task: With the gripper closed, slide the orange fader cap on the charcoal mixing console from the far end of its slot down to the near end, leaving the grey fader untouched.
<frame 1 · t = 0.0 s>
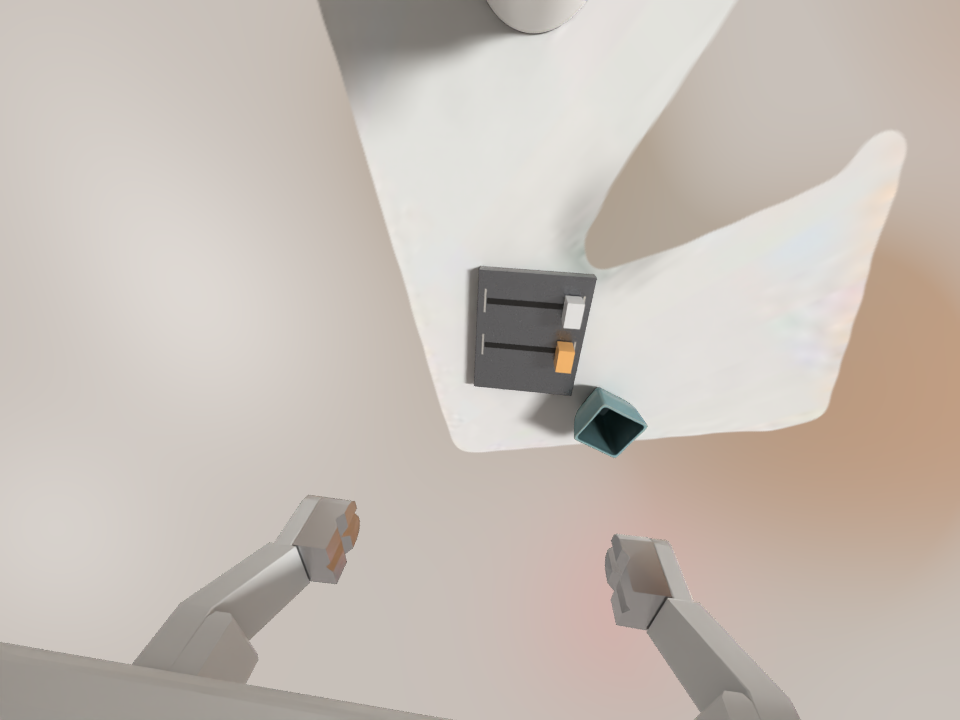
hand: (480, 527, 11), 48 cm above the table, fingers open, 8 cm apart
console: (528, 332, 60), on the table
fader A: (563, 357, 57), point 4 cm above the table, slide at 0.0 cm
flower pot: (599, 400, 65), on the table
fader B: (572, 312, 53), point 4 cm above the table, slide at 0.0 cm
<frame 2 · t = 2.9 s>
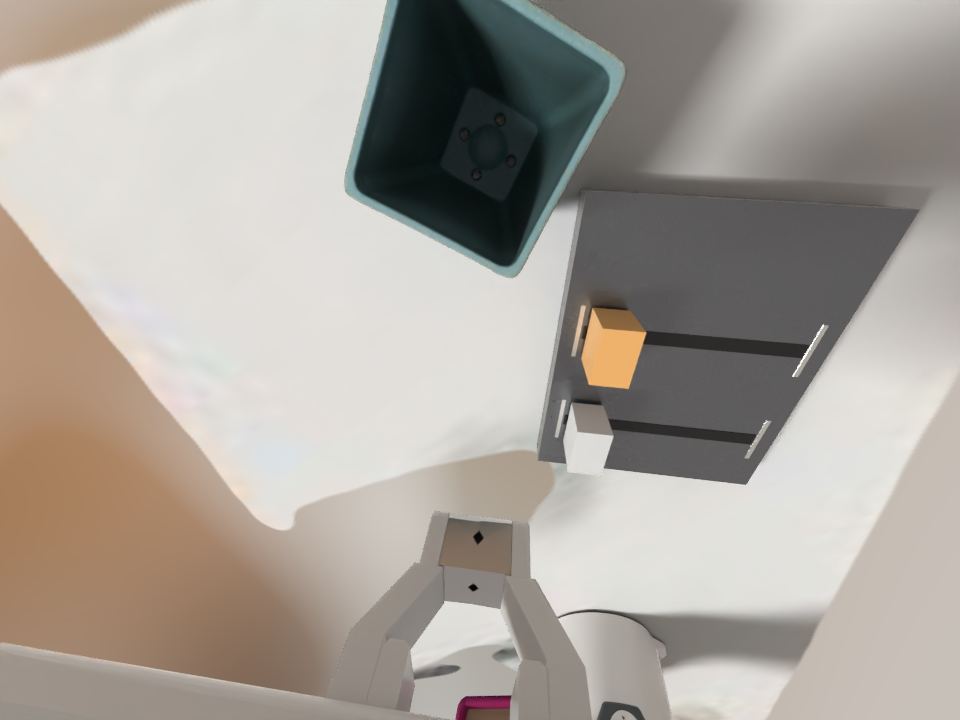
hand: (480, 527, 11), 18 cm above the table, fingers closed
console: (671, 353, 27), on the table
fader A: (610, 347, 22), point 4 cm above the table, slide at 0.0 cm
flower pot: (490, 148, 21), on the table
fader B: (585, 438, 26), point 4 cm above the table, slide at 0.0 cm
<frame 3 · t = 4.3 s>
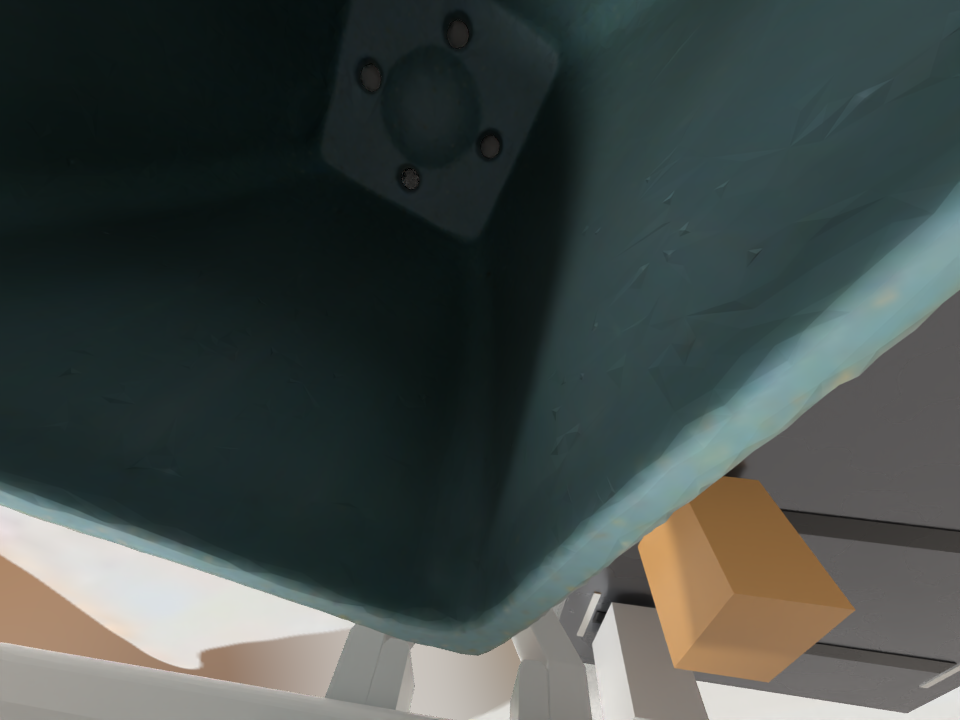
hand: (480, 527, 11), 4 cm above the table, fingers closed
console: (802, 516, 14), on the table
fader A: (718, 570, 10), point 4 cm above the table, slide at 0.0 cm
flower pot: (440, 114, 9), on the table
fader B: (640, 678, 14), point 4 cm above the table, slide at 0.0 cm
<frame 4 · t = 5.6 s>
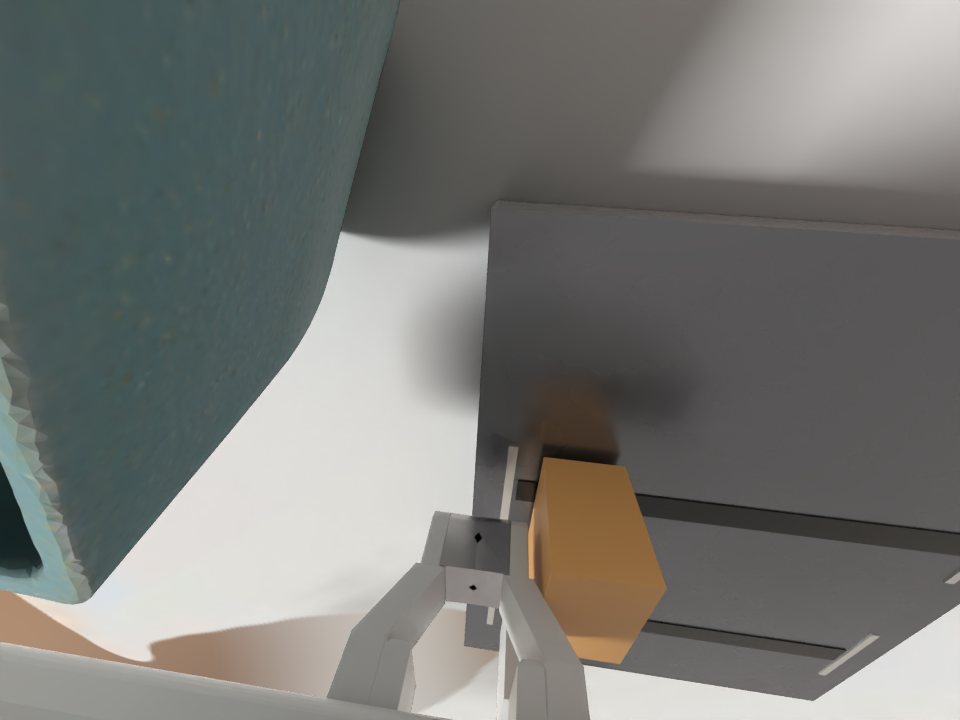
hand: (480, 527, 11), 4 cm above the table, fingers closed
console: (692, 504, 14), on the table
fader A: (579, 554, 10), point 4 cm above the table, slide at 0.4 cm, touching gripper
flower pot: (274, 100, 9), on the table
fader B: (531, 664, 14), point 4 cm above the table, slide at 0.0 cm
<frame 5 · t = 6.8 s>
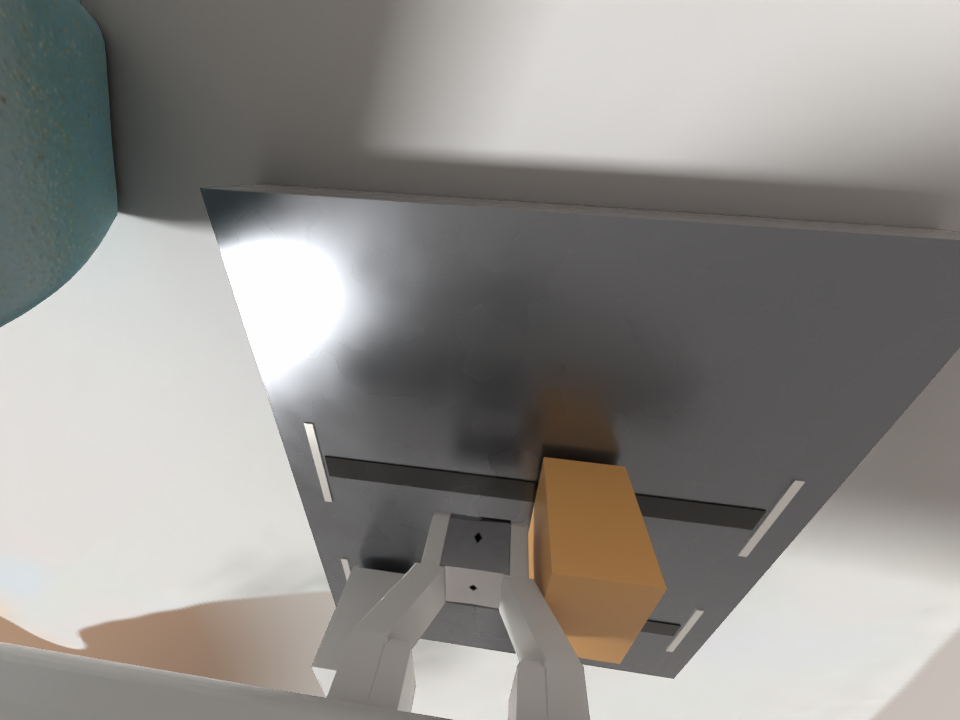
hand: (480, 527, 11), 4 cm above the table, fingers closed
console: (526, 484, 15), on the table
fader A: (579, 554, 10), point 4 cm above the table, slide at 7.3 cm, touching gripper
flower pot: (35, 87, 9), on the table
fader B: (370, 638, 15), point 4 cm above the table, slide at 0.0 cm
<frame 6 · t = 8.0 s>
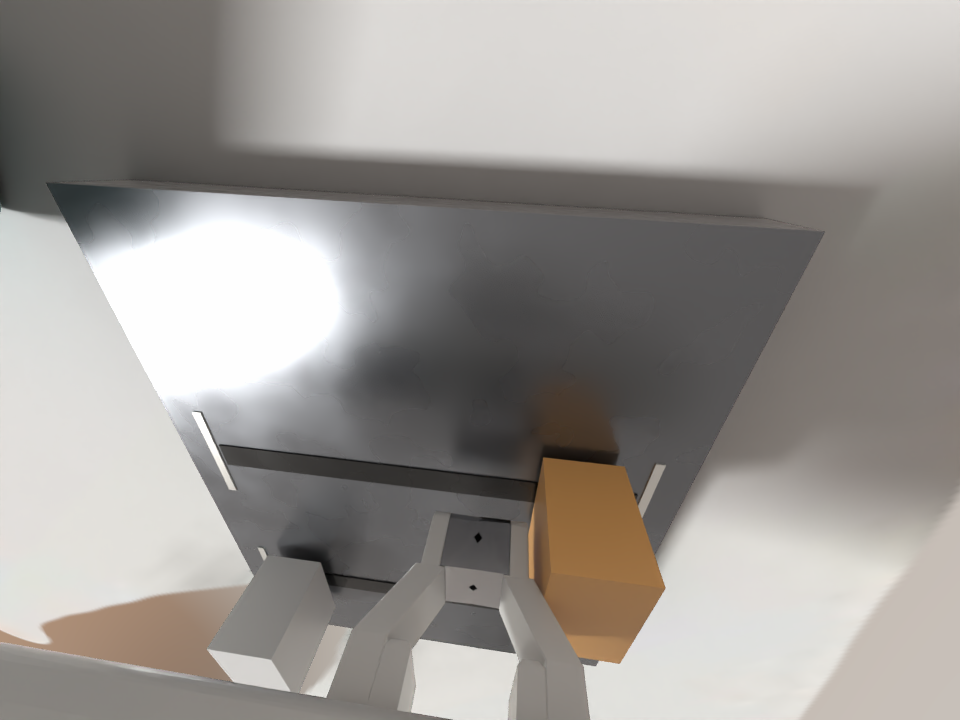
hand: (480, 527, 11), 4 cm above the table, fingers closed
console: (433, 473, 15), on the table
fader A: (579, 554, 10), point 4 cm above the table, slide at 11.4 cm, touching gripper
fader B: (281, 624, 15), point 4 cm above the table, slide at 0.0 cm
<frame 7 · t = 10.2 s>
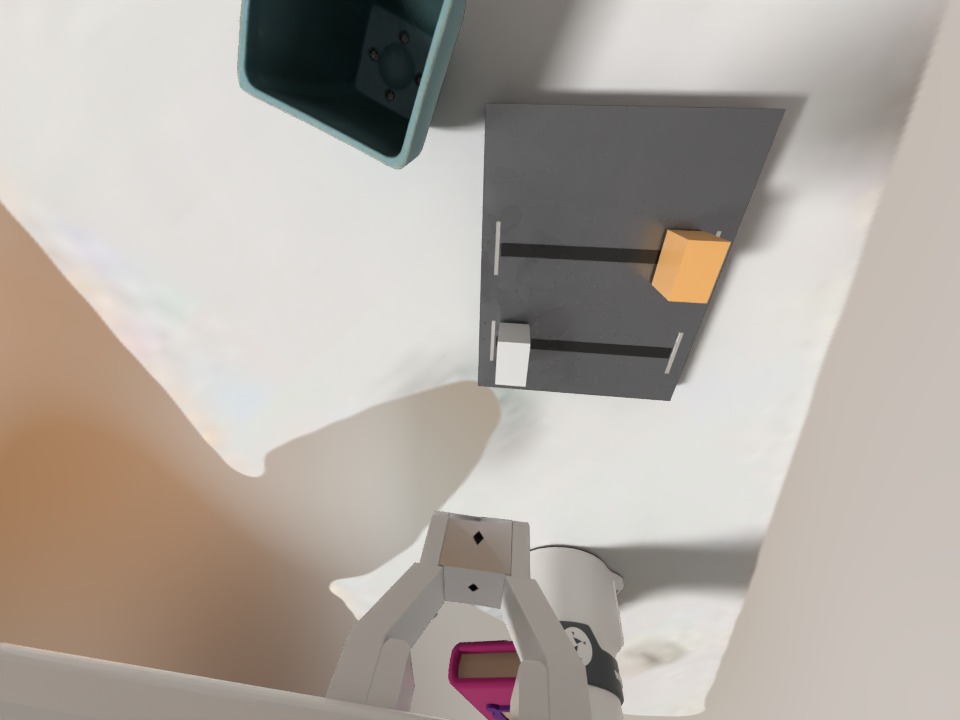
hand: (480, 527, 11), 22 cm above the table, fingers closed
console: (590, 272, 28), on the table
fader A: (686, 265, 23), point 4 cm above the table, slide at 11.4 cm
flower pot: (400, 69, 23), on the table
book: (522, 667, 73), on the table
fader B: (512, 353, 28), point 4 cm above the table, slide at 0.0 cm
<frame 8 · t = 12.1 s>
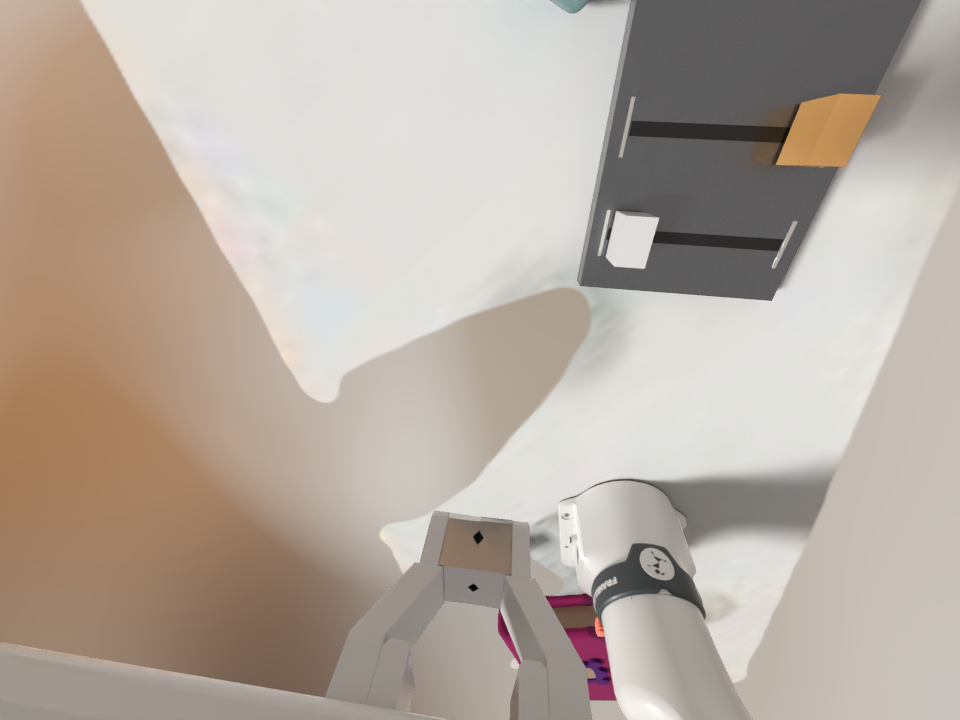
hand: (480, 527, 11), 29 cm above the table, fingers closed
console: (707, 162, 29), on the table
fader A: (822, 133, 24), point 4 cm above the table, slide at 11.4 cm
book: (566, 628, 72), on the table
fader B: (630, 239, 29), point 4 cm above the table, slide at 0.0 cm
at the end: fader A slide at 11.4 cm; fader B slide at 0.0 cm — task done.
